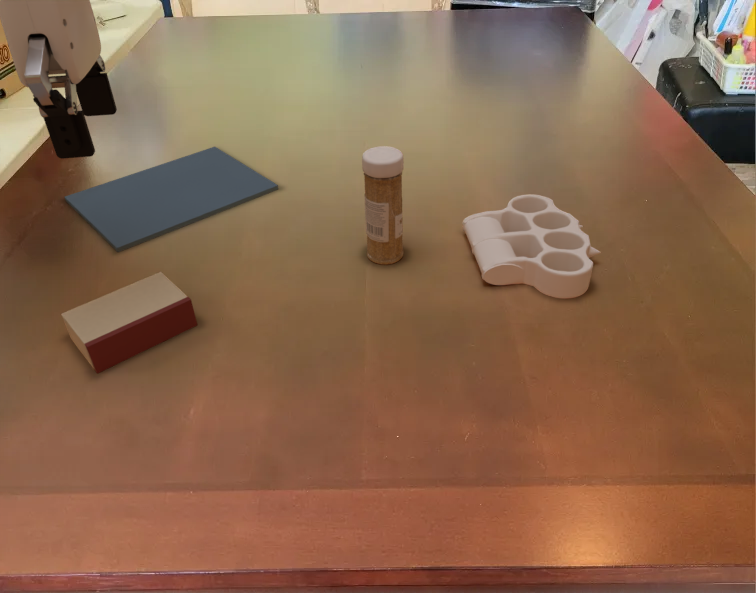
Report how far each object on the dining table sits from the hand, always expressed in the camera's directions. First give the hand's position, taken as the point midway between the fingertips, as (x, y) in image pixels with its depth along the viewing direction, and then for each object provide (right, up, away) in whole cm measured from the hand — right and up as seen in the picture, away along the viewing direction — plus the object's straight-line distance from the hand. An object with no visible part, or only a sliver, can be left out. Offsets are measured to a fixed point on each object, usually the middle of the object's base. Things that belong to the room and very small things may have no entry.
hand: (89, 133), depth 62 cm
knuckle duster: (+46, -11, +17) cm, 50 cm away
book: (+2, -19, +7) cm, 21 cm away
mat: (-2, -1, +31) cm, 31 cm away
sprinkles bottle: (+28, -11, +18) cm, 35 cm away
